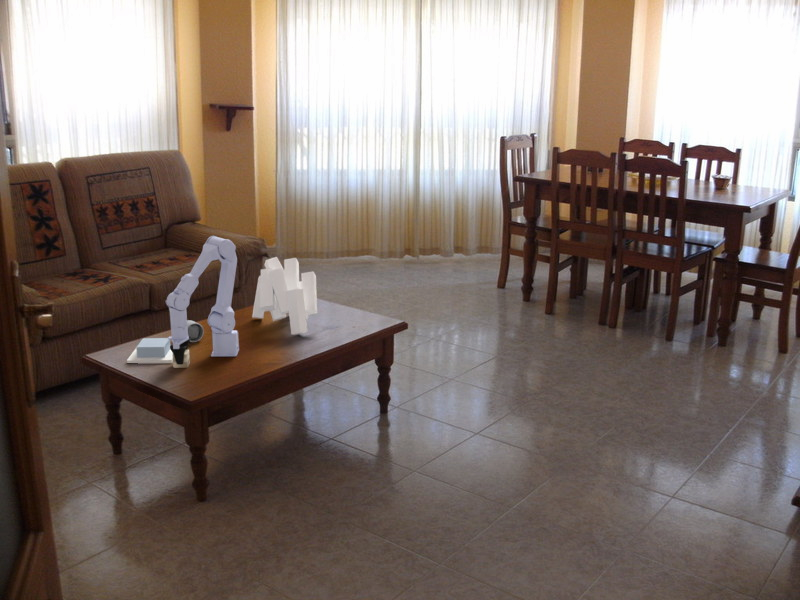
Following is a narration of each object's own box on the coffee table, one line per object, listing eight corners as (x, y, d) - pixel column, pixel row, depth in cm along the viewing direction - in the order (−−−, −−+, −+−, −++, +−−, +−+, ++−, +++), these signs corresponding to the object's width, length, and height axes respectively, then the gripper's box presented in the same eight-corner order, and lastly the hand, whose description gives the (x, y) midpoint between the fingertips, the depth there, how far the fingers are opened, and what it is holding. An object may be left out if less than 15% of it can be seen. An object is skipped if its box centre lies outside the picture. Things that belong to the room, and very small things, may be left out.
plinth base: (180, 348, 317) (179, 335, 316) (171, 363, 302) (170, 349, 300) (137, 348, 316) (136, 335, 315) (127, 363, 301) (125, 350, 299)
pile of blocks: (340, 340, 344) (342, 258, 352) (291, 329, 320) (294, 242, 328) (278, 347, 364) (281, 269, 371) (227, 337, 340) (232, 255, 347)
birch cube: (190, 362, 303) (189, 349, 301) (187, 367, 298) (186, 354, 296) (176, 362, 302) (175, 349, 301) (173, 367, 297) (172, 354, 296)
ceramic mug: (196, 334, 333) (194, 316, 330) (204, 340, 326) (203, 321, 324) (170, 340, 327) (169, 321, 324) (178, 345, 320) (177, 327, 318)
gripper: (171, 319, 303) (174, 354, 306) (163, 332, 289) (165, 368, 292) (191, 319, 303) (193, 354, 307) (183, 331, 289) (186, 368, 293)
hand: (181, 361), depth 300 cm, fingers closed on birch cube, 5 cm apart
